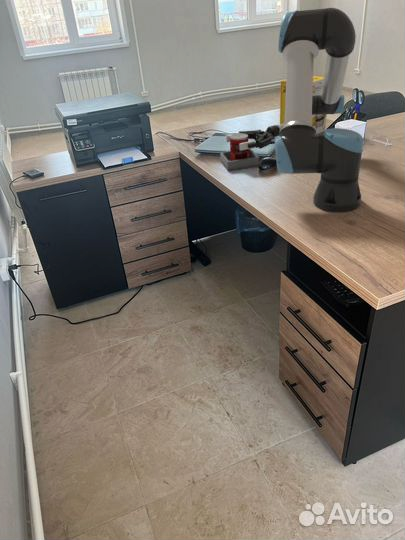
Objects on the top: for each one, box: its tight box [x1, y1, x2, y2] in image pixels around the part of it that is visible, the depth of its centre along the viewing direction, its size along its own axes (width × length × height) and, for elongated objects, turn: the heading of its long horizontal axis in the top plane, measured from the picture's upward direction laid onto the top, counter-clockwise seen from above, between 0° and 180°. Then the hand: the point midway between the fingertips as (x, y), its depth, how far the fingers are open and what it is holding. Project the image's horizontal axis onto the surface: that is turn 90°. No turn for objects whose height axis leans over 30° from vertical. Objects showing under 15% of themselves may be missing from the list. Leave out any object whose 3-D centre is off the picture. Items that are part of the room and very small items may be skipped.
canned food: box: [229, 132, 249, 161], centre depth 169 cm, size 8×8×11 cm
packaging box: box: [279, 75, 328, 135], centre depth 197 cm, size 16×16×25 cm
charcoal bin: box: [219, 148, 260, 172], centre depth 172 cm, size 14×14×4 cm
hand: (232, 143), depth 167 cm, fingers open, 13 cm apart
